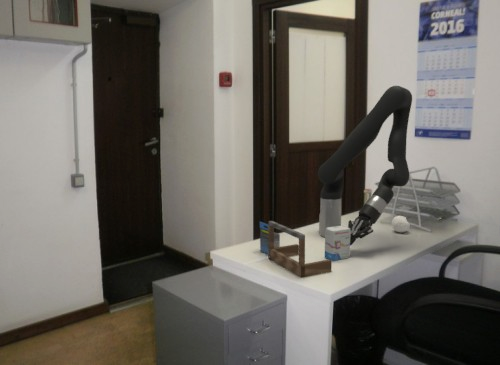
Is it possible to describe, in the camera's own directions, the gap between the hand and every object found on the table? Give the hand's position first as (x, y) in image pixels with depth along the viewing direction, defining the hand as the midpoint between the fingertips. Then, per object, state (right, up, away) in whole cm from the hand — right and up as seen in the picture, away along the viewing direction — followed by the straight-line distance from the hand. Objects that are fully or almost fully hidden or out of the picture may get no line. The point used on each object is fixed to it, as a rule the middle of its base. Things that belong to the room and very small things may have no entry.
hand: (347, 243), depth 177 cm
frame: (-19, -6, -8) cm, 22 cm away
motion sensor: (+31, +1, +34) cm, 46 cm away
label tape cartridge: (-30, -5, +7) cm, 31 cm away
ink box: (-4, -5, -1) cm, 7 cm away
